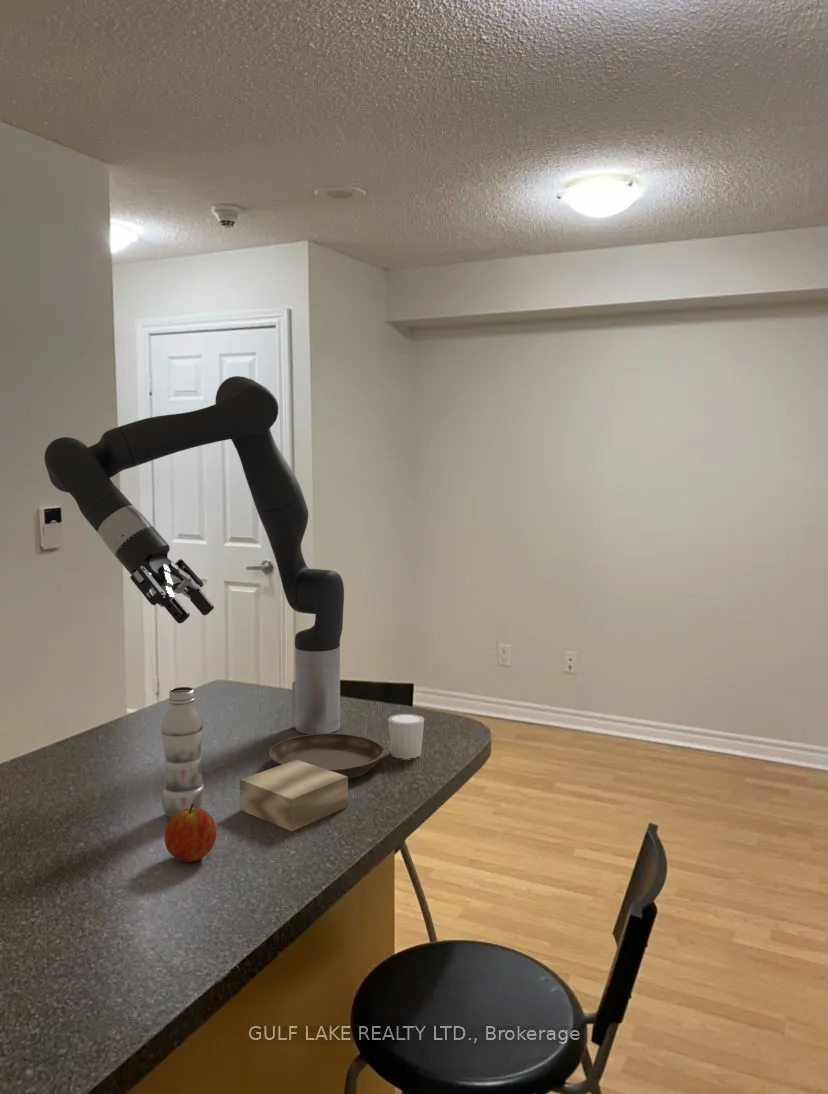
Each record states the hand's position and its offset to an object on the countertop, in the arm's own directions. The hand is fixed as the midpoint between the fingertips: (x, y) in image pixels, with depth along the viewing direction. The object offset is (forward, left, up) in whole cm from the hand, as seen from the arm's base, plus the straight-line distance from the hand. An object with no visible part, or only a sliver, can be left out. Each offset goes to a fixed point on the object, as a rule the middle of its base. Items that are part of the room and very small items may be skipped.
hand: (197, 615), depth 135 cm
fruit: (+16, -14, -31) cm, 37 cm away
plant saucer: (+4, +24, -31) cm, 40 cm away
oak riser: (+14, +7, -30) cm, 34 cm away
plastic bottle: (+3, -6, -31) cm, 31 cm away
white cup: (+11, +38, -31) cm, 50 cm away
